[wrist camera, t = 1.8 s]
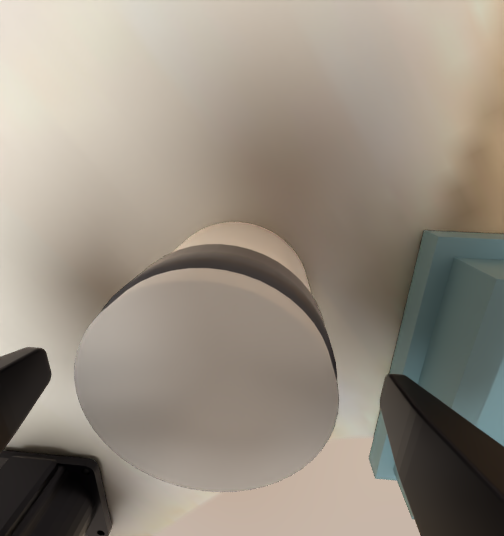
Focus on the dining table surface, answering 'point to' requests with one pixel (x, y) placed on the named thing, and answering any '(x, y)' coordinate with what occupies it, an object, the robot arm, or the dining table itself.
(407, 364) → the square tray
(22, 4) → the dining table surface
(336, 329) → the dining table surface
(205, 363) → the lens
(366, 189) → the dining table surface
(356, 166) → the dining table surface
